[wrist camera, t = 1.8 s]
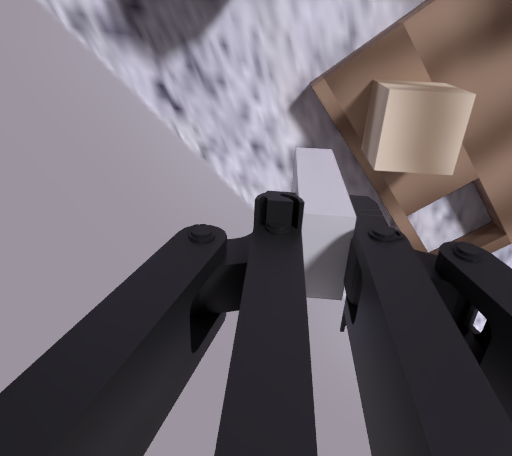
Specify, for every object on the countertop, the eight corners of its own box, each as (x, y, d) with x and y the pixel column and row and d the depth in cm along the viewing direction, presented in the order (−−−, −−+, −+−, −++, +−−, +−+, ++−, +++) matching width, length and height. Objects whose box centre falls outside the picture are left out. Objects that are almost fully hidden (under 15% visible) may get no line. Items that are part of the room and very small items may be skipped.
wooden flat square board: (310, 82, 30) (312, 87, 28) (590, -117, 24) (621, -132, 21) (422, 265, 37) (431, 280, 35) (664, 148, 30) (693, 158, 28)
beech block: (361, 148, 30) (374, 170, 25) (372, 79, 27) (389, 89, 23) (427, 152, 29) (452, 175, 25) (445, 83, 27) (476, 94, 23)
